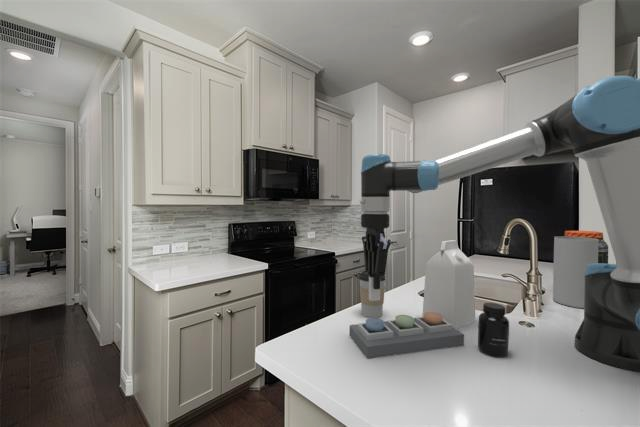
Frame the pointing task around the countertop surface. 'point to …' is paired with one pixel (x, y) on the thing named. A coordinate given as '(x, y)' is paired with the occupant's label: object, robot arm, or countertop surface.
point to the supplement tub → (596, 235)
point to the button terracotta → (432, 318)
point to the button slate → (374, 324)
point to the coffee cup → (368, 307)
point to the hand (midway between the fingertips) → (374, 299)
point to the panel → (405, 338)
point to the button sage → (404, 321)
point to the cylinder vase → (572, 268)
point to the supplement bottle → (493, 330)
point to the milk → (450, 285)
